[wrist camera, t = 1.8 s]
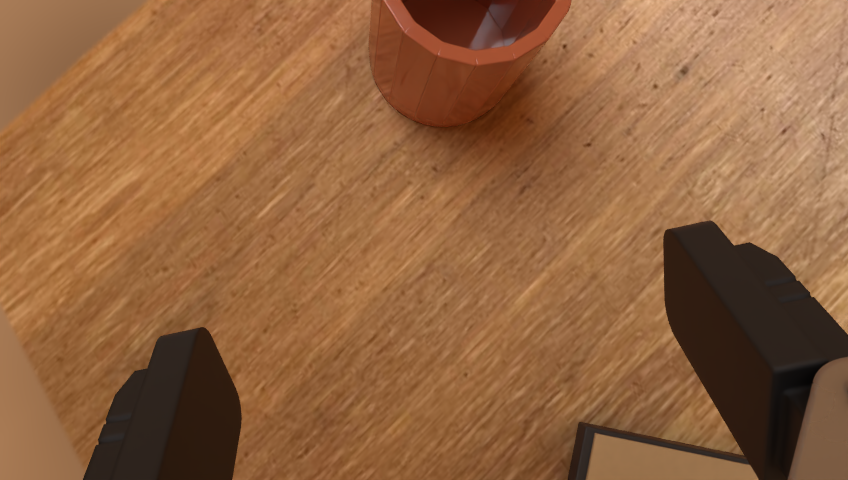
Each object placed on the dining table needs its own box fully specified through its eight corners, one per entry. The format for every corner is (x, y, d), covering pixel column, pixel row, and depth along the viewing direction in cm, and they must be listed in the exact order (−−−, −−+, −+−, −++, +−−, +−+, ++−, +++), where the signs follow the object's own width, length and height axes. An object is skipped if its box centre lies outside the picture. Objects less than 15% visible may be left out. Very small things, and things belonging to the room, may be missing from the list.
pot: (355, 108, 31) (356, 36, 22) (386, -31, 31) (400, -156, 22) (496, 141, 31) (554, 85, 22) (525, 4, 32) (593, -105, 23)
